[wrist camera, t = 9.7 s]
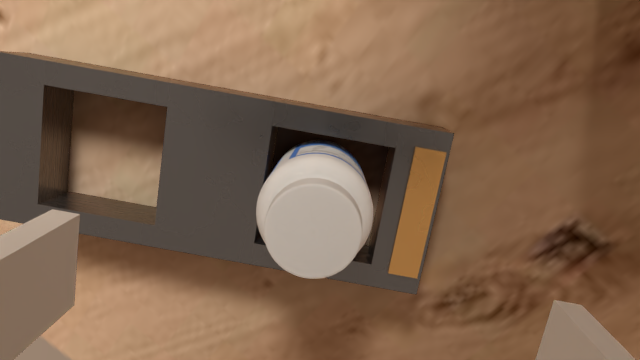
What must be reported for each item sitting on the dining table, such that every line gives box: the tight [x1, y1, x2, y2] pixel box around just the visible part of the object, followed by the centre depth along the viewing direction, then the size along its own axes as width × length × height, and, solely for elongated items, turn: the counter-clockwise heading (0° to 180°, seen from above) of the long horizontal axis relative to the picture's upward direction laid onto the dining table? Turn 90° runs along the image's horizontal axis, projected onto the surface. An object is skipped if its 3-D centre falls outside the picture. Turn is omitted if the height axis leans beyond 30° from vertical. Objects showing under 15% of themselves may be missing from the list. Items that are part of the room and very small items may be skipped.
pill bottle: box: [256, 140, 373, 279], centre depth 25 cm, size 6×5×10 cm
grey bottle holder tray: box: [0, 51, 454, 294], centre depth 28 cm, size 9×24×3 cm, turn 80°
